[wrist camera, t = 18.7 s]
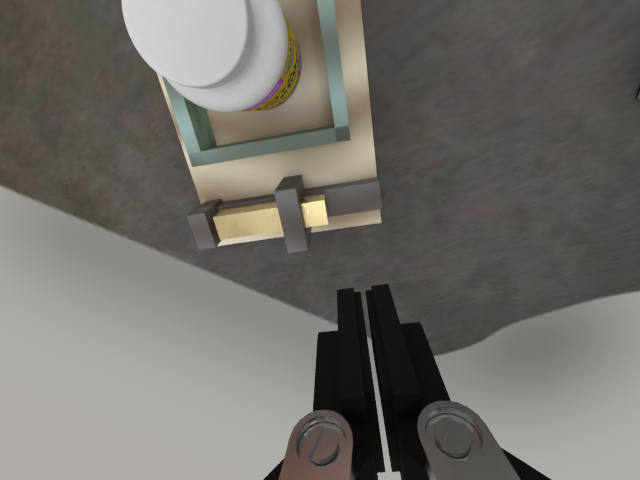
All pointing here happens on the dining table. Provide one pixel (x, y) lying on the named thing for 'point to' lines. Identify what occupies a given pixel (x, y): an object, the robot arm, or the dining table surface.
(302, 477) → the robot arm
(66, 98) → the dining table surface
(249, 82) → the supplement bottle
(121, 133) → the dining table surface
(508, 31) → the dining table surface
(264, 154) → the dock
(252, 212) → the lock bolt
